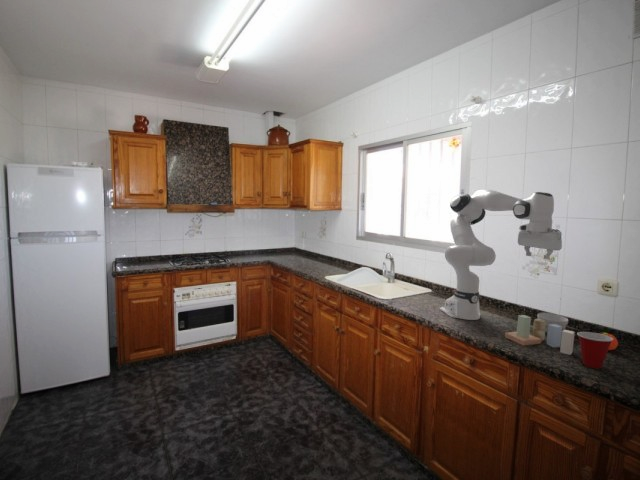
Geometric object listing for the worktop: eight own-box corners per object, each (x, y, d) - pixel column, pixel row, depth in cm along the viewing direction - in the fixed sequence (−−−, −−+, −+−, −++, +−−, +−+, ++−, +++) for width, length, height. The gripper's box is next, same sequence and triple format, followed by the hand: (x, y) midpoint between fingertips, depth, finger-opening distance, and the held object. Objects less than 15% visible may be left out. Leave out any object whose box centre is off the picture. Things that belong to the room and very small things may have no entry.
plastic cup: (590, 358, 137) (593, 329, 136) (617, 371, 127) (621, 339, 126) (566, 359, 136) (569, 330, 135) (592, 372, 125) (595, 340, 124)
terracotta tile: (504, 336, 158) (505, 332, 158) (521, 335, 161) (522, 331, 161) (523, 345, 149) (523, 341, 148) (540, 343, 151) (541, 339, 151)
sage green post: (516, 334, 156) (518, 315, 155) (522, 334, 157) (524, 315, 156) (522, 337, 152) (524, 317, 152) (529, 336, 153) (530, 317, 153)
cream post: (559, 352, 143) (562, 331, 142) (562, 350, 145) (564, 329, 144) (570, 355, 140) (572, 333, 139) (572, 352, 142) (574, 331, 141)
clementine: (589, 345, 151) (591, 329, 151) (604, 345, 152) (606, 329, 151) (605, 352, 143) (607, 336, 143) (621, 352, 144) (623, 336, 143)
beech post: (532, 338, 157) (533, 319, 156) (536, 337, 159) (537, 318, 158) (540, 341, 154) (542, 322, 153) (544, 340, 156) (546, 320, 155)
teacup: (555, 338, 158) (557, 321, 157) (529, 329, 169) (531, 313, 168) (576, 334, 164) (577, 318, 163) (549, 326, 175) (551, 311, 174)
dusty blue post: (546, 344, 151) (548, 324, 150) (553, 343, 152) (555, 324, 151) (552, 347, 148) (554, 327, 147) (560, 347, 148) (562, 326, 147)
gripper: (567, 229, 148) (563, 261, 150) (526, 226, 168) (524, 254, 169) (556, 229, 146) (552, 261, 148) (516, 226, 166) (514, 254, 167)
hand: (537, 257), depth 159 cm, fingers open, 8 cm apart
